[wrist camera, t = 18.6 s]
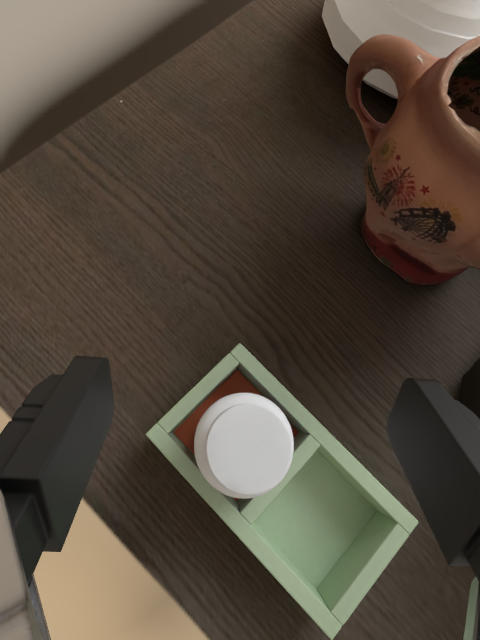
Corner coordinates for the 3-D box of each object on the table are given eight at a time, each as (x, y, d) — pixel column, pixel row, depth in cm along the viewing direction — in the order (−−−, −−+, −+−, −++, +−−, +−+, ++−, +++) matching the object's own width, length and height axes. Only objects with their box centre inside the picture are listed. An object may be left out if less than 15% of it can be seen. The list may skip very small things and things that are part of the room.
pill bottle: (208, 390, 26) (205, 376, 17) (279, 406, 26) (316, 400, 17) (190, 468, 25) (176, 499, 15) (266, 484, 25) (298, 525, 16)
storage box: (315, 610, 24) (332, 641, 20) (153, 432, 26) (144, 434, 23) (393, 508, 26) (419, 522, 22) (236, 351, 28) (239, 342, 25)
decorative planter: (267, 201, 32) (308, 41, 18) (346, 119, 34) (431, -70, 21) (456, 347, 29) (662, 288, 16) (523, 246, 32) (744, 124, 19)
